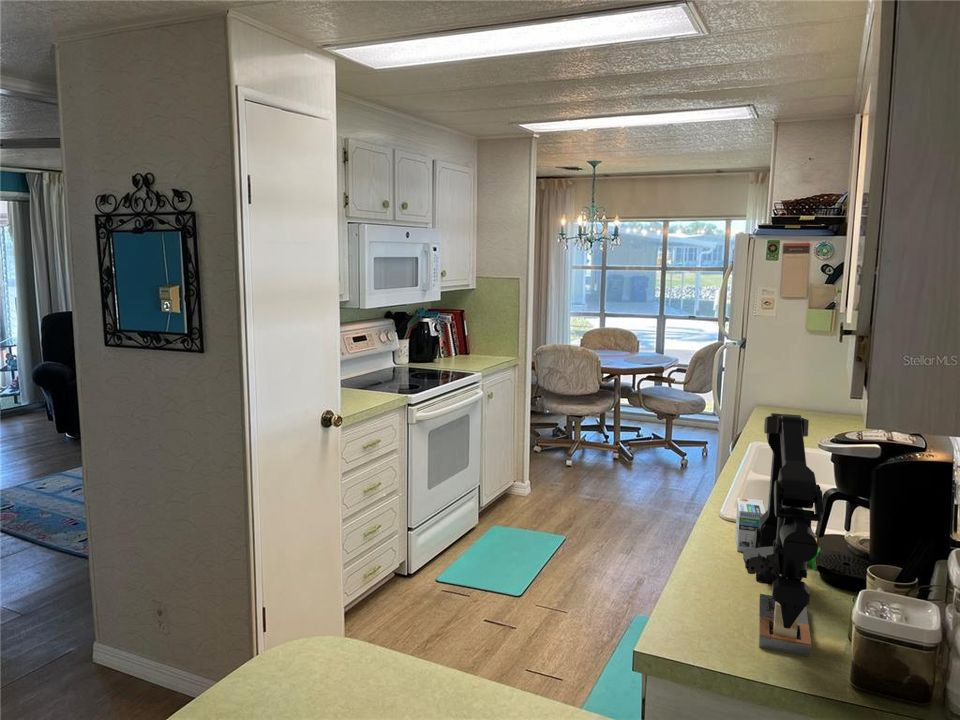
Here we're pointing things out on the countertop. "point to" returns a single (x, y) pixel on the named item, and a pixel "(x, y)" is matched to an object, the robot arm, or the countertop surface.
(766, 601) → the grey board
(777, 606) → the beech peg
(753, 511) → the light bulb box
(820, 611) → the countertop surface
